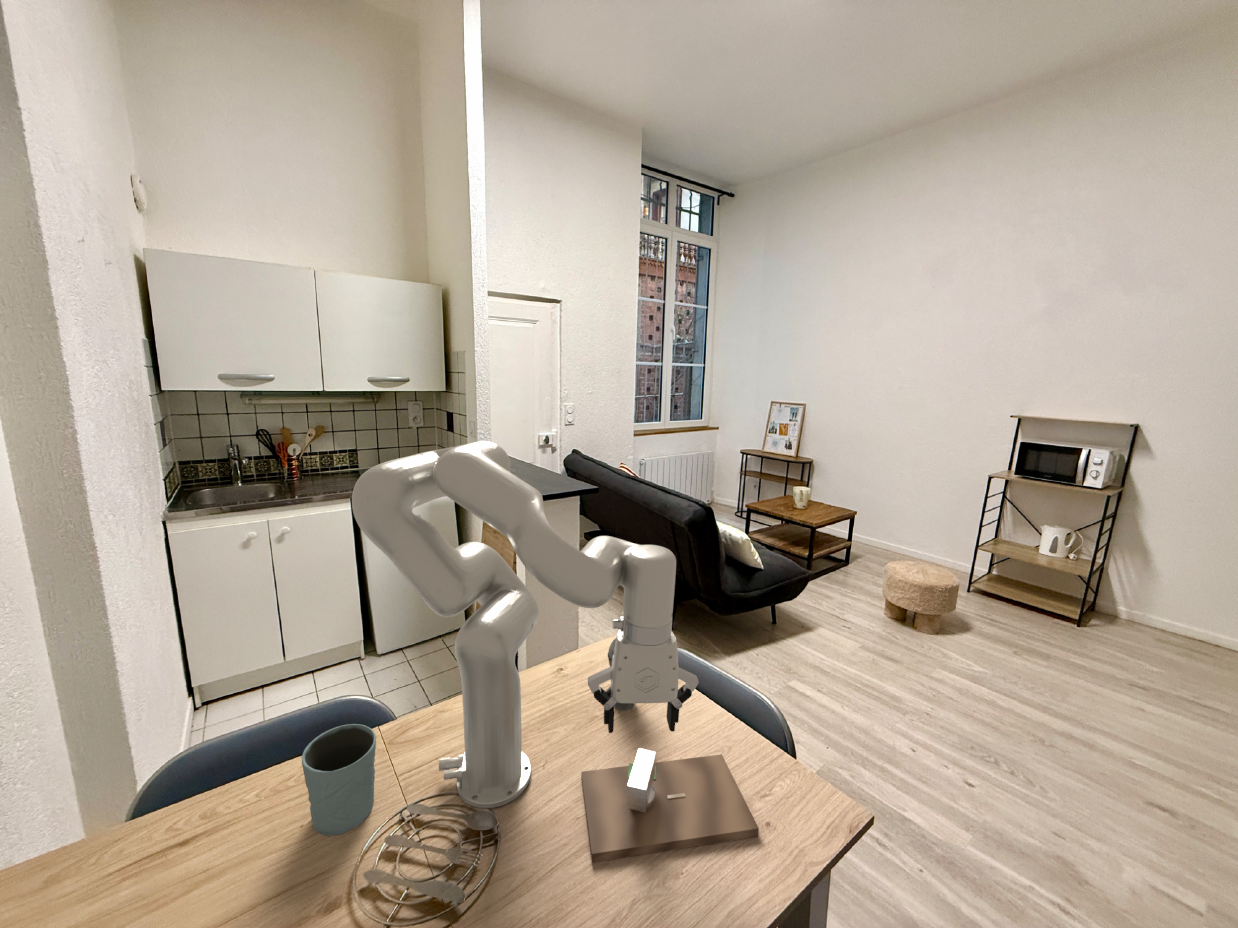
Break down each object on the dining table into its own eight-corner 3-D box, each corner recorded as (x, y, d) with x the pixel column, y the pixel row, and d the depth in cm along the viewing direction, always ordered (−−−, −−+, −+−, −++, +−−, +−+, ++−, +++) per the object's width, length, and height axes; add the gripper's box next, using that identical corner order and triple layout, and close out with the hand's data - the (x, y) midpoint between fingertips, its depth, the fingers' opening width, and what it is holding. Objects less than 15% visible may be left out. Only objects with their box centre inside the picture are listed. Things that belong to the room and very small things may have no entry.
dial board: (591, 862, 71) (591, 852, 70) (581, 777, 86) (581, 768, 85) (758, 836, 75) (758, 827, 75) (720, 759, 90) (721, 751, 90)
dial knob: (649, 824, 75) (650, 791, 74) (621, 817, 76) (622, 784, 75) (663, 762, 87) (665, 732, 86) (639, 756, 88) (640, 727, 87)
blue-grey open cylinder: (317, 793, 81) (311, 730, 79) (384, 778, 84) (379, 717, 82) (300, 849, 72) (292, 779, 69) (376, 829, 75) (371, 762, 73)
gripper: (590, 640, 69) (586, 745, 72) (709, 639, 71) (699, 742, 74) (589, 614, 77) (585, 710, 80) (696, 614, 78) (688, 708, 81)
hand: (640, 725), depth 77 cm, fingers open, 9 cm apart
